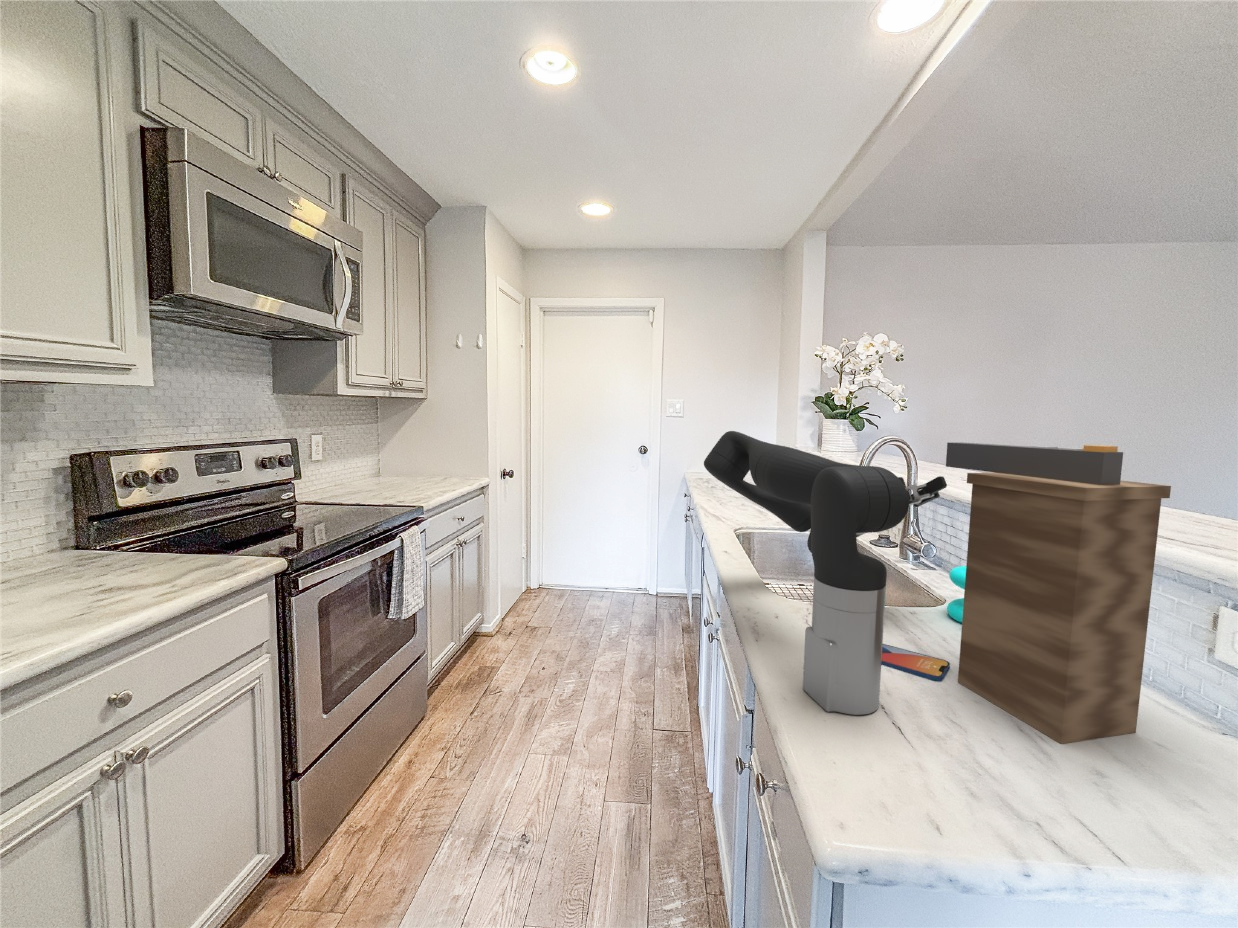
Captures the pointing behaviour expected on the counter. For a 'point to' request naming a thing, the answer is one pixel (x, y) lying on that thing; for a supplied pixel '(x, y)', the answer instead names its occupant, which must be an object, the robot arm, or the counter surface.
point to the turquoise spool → (956, 605)
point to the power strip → (1041, 461)
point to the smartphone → (914, 663)
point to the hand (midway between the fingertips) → (923, 481)
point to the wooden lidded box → (1059, 600)
